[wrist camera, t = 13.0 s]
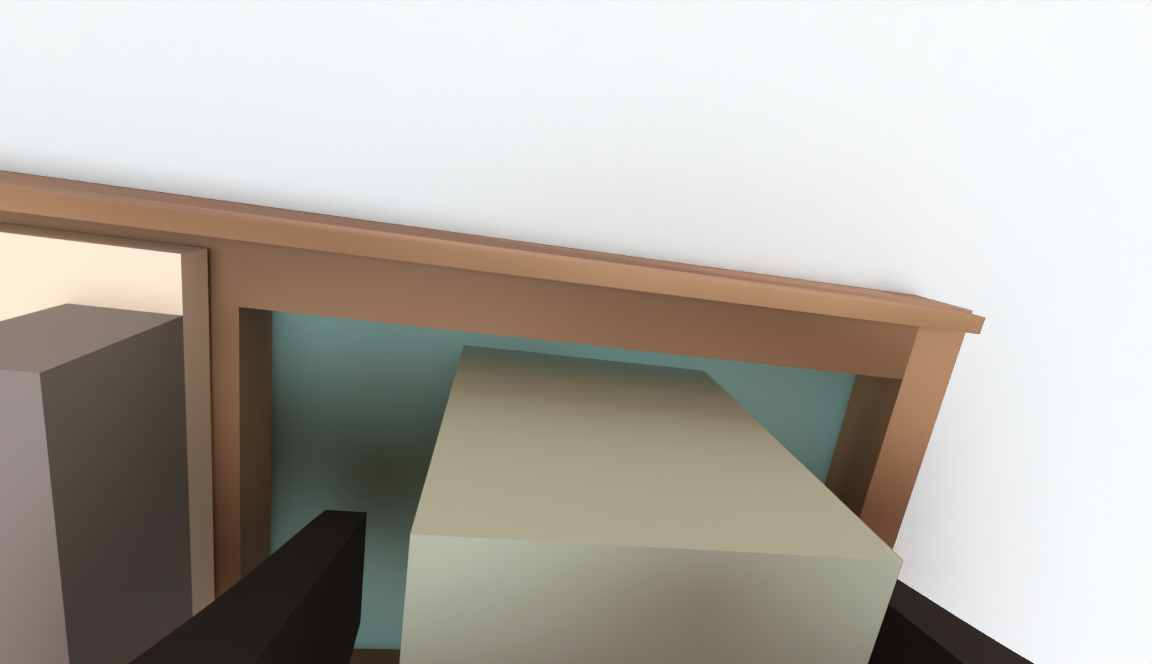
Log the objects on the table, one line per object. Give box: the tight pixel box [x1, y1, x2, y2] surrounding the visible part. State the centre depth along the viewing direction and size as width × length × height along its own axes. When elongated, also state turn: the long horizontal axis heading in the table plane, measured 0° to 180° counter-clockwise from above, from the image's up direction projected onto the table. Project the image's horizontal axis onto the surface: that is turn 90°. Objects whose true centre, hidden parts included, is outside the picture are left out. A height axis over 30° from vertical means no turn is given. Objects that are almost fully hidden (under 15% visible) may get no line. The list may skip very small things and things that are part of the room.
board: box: [0, 170, 985, 664], centre depth 10 cm, size 11×27×2 cm, turn 82°
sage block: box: [399, 345, 903, 664], centre depth 9 cm, size 5×5×6 cm
